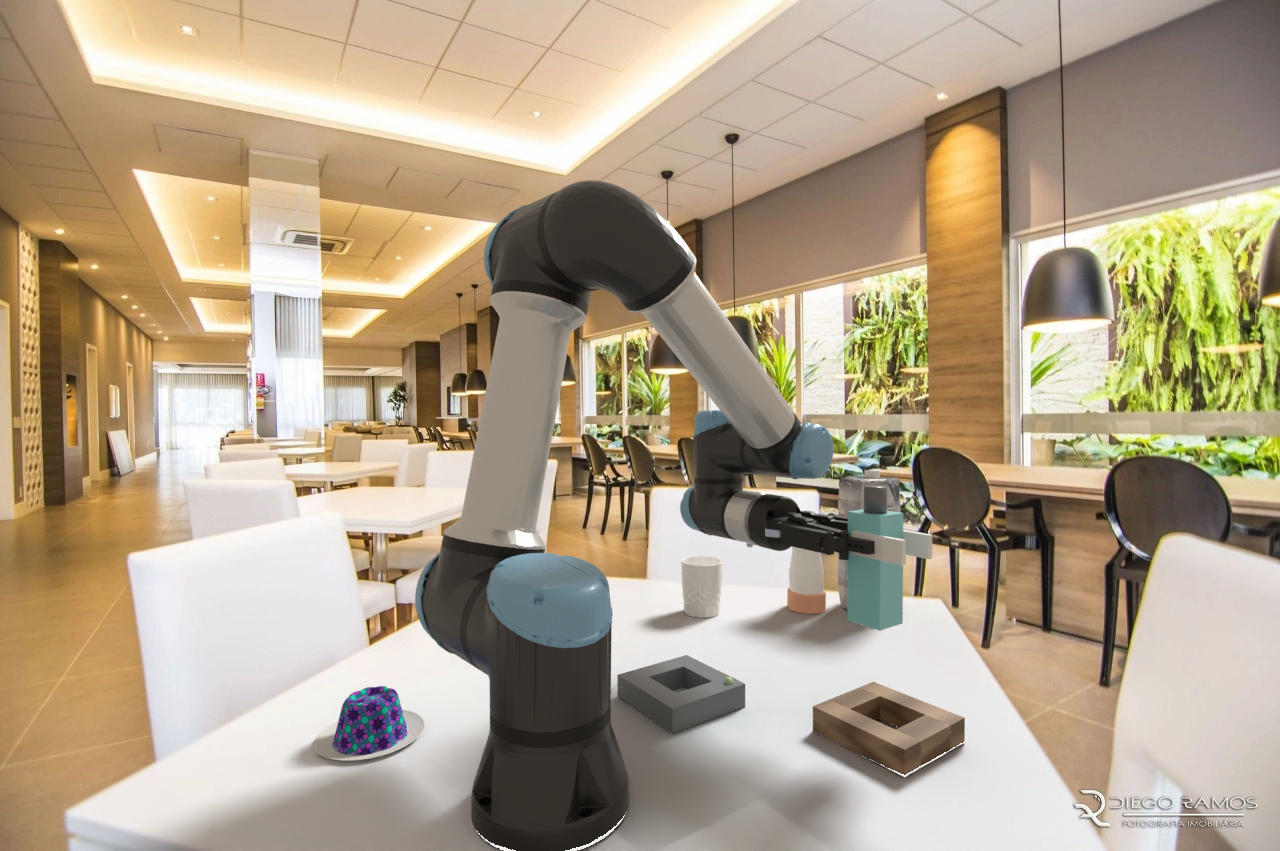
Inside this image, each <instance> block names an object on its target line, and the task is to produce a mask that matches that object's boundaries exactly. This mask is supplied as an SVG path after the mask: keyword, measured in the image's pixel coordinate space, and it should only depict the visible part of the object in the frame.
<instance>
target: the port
mask: <svg viewBox="0 0 1280 851" xmlns="http://www.w3.org/2000/svg"><path fill="white" fill-rule="evenodd" d="M616 676H617V680H616V681H617V687H616V688H617V698H619V699H620V700H621V701H623V702H625V703H626V704H628V705H629V706H631V707H632V708H633V709H635V710H636V711H637V712H639V713H641V714H642V715H644V716H645V717H647V718H649V719H650V720H652V722H654V723H655V724H657V725H659V726H660V727H662V728H663V729H665V730H666V731H668V732H669V733H670V734H675V733H679V732H682V731H683V730H687V729H689V728H692V727H694V726H697V725H700V724H702V723H705V722H708V721H711V720H713V719H716V718H719V717H721V716H724V715H727V714H729V713H732V712H734V711H738V710H740V709H742V708H743V709H744V708H745V707H746V683H744V682H742V681H740V680H738V679H736V678H734V677H733V676H730V675H728V674H726V673H725V672H722V671H720V670H719V669H716V668H714V667H712V666H710V665H708V664H706V663H704V662H702V661H700V660H698V659H696V658H693V657H691V656H689V655H687V654H686V655H685V654H684V655H682V656H678V657H676V658H675V657H674V658H672V659H671V658H670V659H667V660H663V661H660V662H657V663H653V664H650V665H647V666H643V667H639V668H637V669H633V670H629V671H625V672H623V673H618V674H617V675H616ZM681 689H684V690H682V691H679V690H681ZM676 691H679V692H676Z"/></svg>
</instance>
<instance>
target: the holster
mask: <svg viewBox="0 0 1280 851" xmlns="http://www.w3.org/2000/svg"><path fill="white" fill-rule="evenodd" d="M965 718H966V717H965V716H962V715H959V714H957V713H954V712H951V711H948V710H946V709H944V708H941V707H939V706H936V705H934V704H931V703H928V702H926V701H924V700H921V699H919V698H916V697H913V696H911V695H909V694H906V693H903V692H900V691H898V690H896V689H892V688H891V687H888V686H885V685H883V684H881V683H877V682H875V681H872V682H868V683H866V684H864V685H861V686H858V687H857V688H854V689H852V690H849V691H847V692H845V693H843V694H840V695H838V696H835V697H832V698H829V699H827V700H824V701H823V702H820V703H818V704H815V705H812V732H814V733H816V734H818V735H820V736H821V737H824V738H825V739H827V740H829V741H831V742H834V743H835V744H837V745H839V746H842V748H844V749H847V750H849V751H851V752H853V753H855V752H856V753H858V754H860V755H862V756H864V757H866V758H868V759H871V760H873V761H875V762H877V763H879V764H882V765H884V766H885V767H887V768H890V769H892V770H895V771H897V772H899V773H901V774H904V775H906V774H907V773H909V772H911V771H913V770H914V769H916V768H918V767H919V766H921V765H923V764H925V763H927V762H929V761H931V760H932V759H934V758H936V757H937V756H939V755H941V754H943V753H944V752H947V751H949V750H950V749H952V748H953V747H956V746H957V745H959V744H960V743H963V742H964V741H965V740H966V739H965V736H966V735H965V734H966V731H965V728H966V726H965V723H966V720H965ZM881 720H882V722H883V721H884V724H883V723H882V722H879V721H881ZM885 723H886V724H888V723H889V725H890V724H892V725H894V726H893V727H895V726H897V727H899V728H897V727H896V729H895V728H892V727H891V726H892V725H891V726H889V725H886V724H885ZM856 753H855V754H856ZM858 754H857V755H858ZM860 755H859V756H860ZM862 756H861V757H862ZM864 757H863V758H864ZM866 758H865V759H866ZM868 759H867V760H868Z"/></svg>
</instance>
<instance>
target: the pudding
mask: <svg viewBox="0 0 1280 851" xmlns="http://www.w3.org/2000/svg"><path fill="white" fill-rule="evenodd" d="M425 724H426V722H425V719H424V718H423V717H422V716H421V715H419V714H418V713H417V712H415V711H414V712H413V711H410V710H406V709H403V708H402V705H401V700H400V698H399V695H398V691H396V689H394V688H393V687H387V686H385V685H378V686H375V687H374V686H368V687H365V688H362V689H360V690H355V691H353V692H352V693H350V694H349V695H348V697H347V698H345V700H344V701H343V703H342V705H341V709H340V714H339V717H338V721H336V722H334V723H332V724H330V725H329V726H327V727H326V728H324V730H322V731H321V732H320V733H319V734H318V736H317V737H316V739H315V740H314V749H315V751H316V752H317V753H318V755H320V756H322V757H324V758H326V759H331V760H335V761H344V762H345V761H347V762H348V761H363V760H370V759H374V758H377V757H382V756H385V755H388V754H392V753H394V752H396V751H398V750H401V749H403V748H404V747H407V746H408V745H410V744H411V743H413V742H414V741H416V740H417V739H418V738H419V737H420V736H421V734H422V733H423V732H424V729H425V728H426V727H425ZM407 729H408V730H407ZM399 741H400V742H399ZM398 742H399V743H398ZM334 747H335V748H338V749H337V751H336V750H335V749H334ZM377 751H379V752H377ZM375 752H376V753H375ZM350 754H355V755H350Z"/></svg>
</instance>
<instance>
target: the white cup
mask: <svg viewBox="0 0 1280 851" xmlns="http://www.w3.org/2000/svg"><path fill="white" fill-rule="evenodd" d="M680 563H681V564H680V566H681V586H682V598H683V612H684V614H686V615H687V616H689V617H693V618H701V619H702V618H704V619H706V618H713V617H716V616H718V615H719V614H720V611H721V610H720V609H721V597H722V582H723V581H722V580H723V560H722V559H720V558H718V557H714V556H707V555H706V556H705V555H704V556H703V555H696V556H687V557H684V558H682V559H681V560H680Z"/></svg>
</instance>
